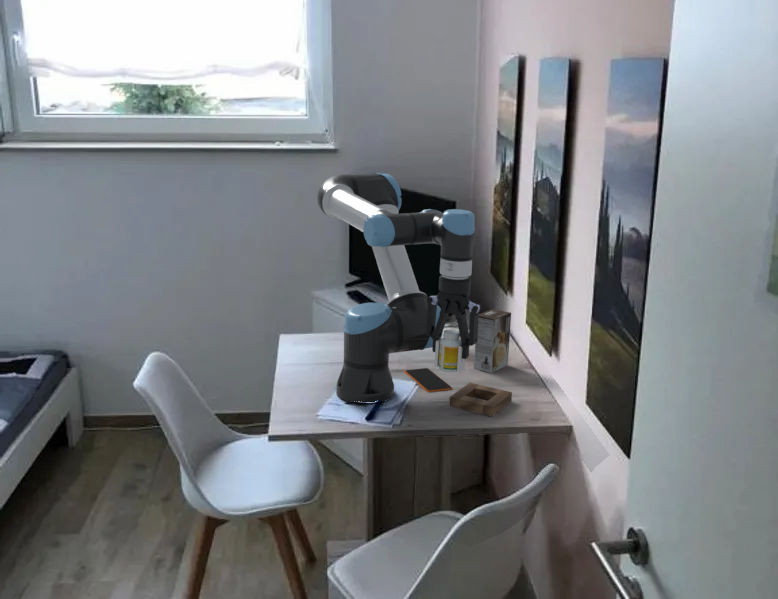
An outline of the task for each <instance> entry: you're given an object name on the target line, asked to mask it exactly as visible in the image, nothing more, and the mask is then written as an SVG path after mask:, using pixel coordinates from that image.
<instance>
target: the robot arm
mask: <svg viewBox="0 0 778 599" xmlns="http://www.w3.org/2000/svg"><path fill="white" fill-rule="evenodd" d="M316 196H317V197H316V198H317V199H316V202H317V205H318V207H319V209H320V211H321V212H322V213H323V214H324V215H326V216H327V217H329V218H331V219H334V220H342V221H343V222H345V223H347V224H348V225H350V226H352V227H354V228H355V229H357V230H359V231H360V232H362V233H363V237H364V239H365V241H366V243H367V245H368V246H370V247H371V249H372V252H373V255H374V258H375V260H376V264H377V268H378V270H379V274H380V276H381V281H382V283H383V287H384V290H385V292H386V295H387V298H388V302H387V304H386V303H384V302H372V301H371V302H363V303H360V304H357V305H354V306H352V307H351V308H349V309H347V311H346V313H345V316H344V324H343V366H342V367H341V370H340V374H339V375H338V376H339V377H338V379H337V382H336V387H335V390H336V395H337V397H339V398H340V399H341V400H344V401H346V402H349V401H352V402H351V403H353V402H354V401H355V402H356V401H357V402H358V401H360V402H361V401H362V402H375V401H377V400H380V401H384V402H386V401H385V400H387V401H389V400H391V399H392V398H393V397H394V396H395V384H394V381H393V377H392V376H393V375H392V373H391V370H390V369H391V368H390V367H389V363H390V362H389V360H390V359H389V358H390V354H394V353H395V354H397V353H404V352H412V351H423V350H425V349H430V348H432V352H433V353H434V367H436V368H439V351H440V341H441V339H443V338H442V337H443V334H444V330H445V329H444V328H445V325H446V323H447V320H448V317H449V315H450V314H451V315H454V317H455V320H456V321H457V327H458V331H459V333H460V338H459V339H460V340H461V343H462V344H461V345H460V346H459V347H458V363H457V372H458V373H461V372H462V371H464V370H466V369H465V366H466V359H468V358H469V356H470V346H473V345H474V346H475V343H477V341H478V316H479V314H480V311H481V309H482V305H481V304H480V303H475V302H474V301H473V302H472V300H471V297H470V293H471V286H472V278H471V277H470V276H472V271H473V270H472V269H473V268H472V267H473V256H474V255H473V252H474V241H475V233H476V232H475V231H476V227H475V224H476V222H475V219H476V218H475V214H474V213H473V212H472V211H470V210H468V209H467V210H465V209H460V208H459V209H457V208H453V209H452V208H451V209H446V210H444V211H443V212H442V211H439V210H437V209H431V208H428V209H423V210H422V211H420V212H410V213H409V212H407V213H406V212H405V213H399V211H400V209H401V208H402V207H401V206H402V203H403V201H402V197H401V196H402V190H401V188H400V185H399V182H398V181H397V179H396V178H395V177H393V176H392V175H391V174H388V173H379V172H373V173H349V174H348V173H343V174H342V173H341V174H336V175H333V176H331V177H329V178H327V179H326V180H325V181H323V183H322V184H321V185H320V187H319V188H318V191H317V195H316ZM422 244H426V245H427V244H435V245H437V246H440V261H439V262H440V263H439V274H440V276H439V277H438V278H439V279H438V293H437V295H434V294H432V295H430V296H428V295H427V294H426V293H425V292H423V291H421V290H420V289H419V286H418V283H417V280H416V276H415V274H414V270H413V268H412V264H411V262H410V259H409V255H408V253H407V249H406V247H405V246H407V245H409V246H410V245H422ZM438 303H439V305H440V306H439V305H438ZM467 308H469V310H468V311H469V312H470V313H469V324H468V322H467ZM468 325H469V326H468ZM393 395H394V396H393ZM392 396H393V397H392ZM391 397H392V398H391ZM390 398H391V399H390ZM388 399H389V400H388Z"/></svg>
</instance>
